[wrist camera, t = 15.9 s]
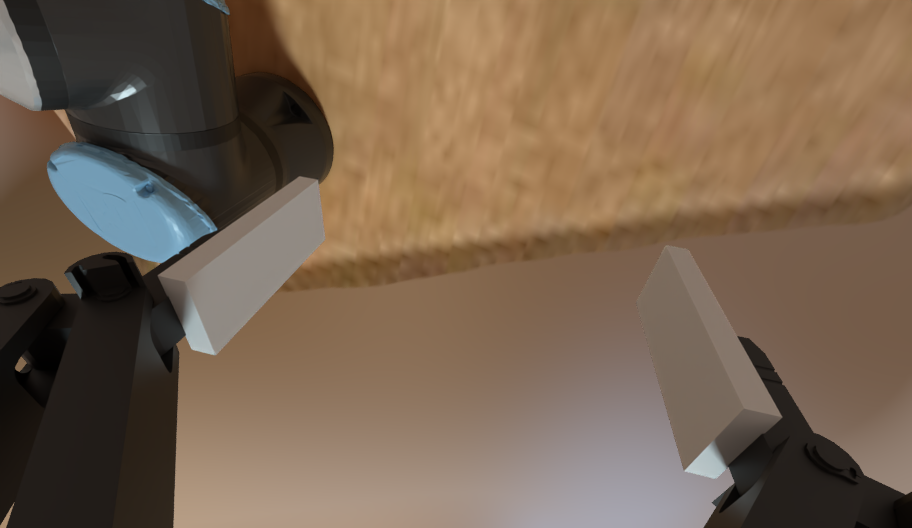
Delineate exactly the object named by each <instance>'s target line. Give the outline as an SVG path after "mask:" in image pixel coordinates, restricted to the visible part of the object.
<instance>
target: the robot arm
mask: <svg viewBox="0 0 912 528" xmlns="http://www.w3.org/2000/svg"><path fill="white" fill-rule="evenodd" d="M228 15H230V11H229V9H228V7H227V5H226V4H225V0H0V94H1V95H3V96H5V97H6V98H8V99H10V100H12V101H14V102H16V103H18V104H20V105H22V106H24V107H26V108H28V109H30V110H36V111H41V110H42V111H43V110H60V109H65V111H66V114H67V116H68V119H69V121H70V124H71V127H72V129H73V132H74V134H75V137H76V142H69V143H64V144H63V145H60V147H59V149H58V150H56V151H54V152H53V153H52V154H51V157H50V160H49V161H48V163H47V171H48V175H49V178H50V181H51V184H52V185H53V187H54V189H55V191H56V192H57V194H58V196H59V197H60V198H61V200H62V201H63V202H64V203H65V205H66V206H67V207H68V208H69V209H70V211H72V212H73V214H75V216H76V217H78V218H79V220H81V221H82V222H83V223H84V224H85V225H86V226H87V227H89V228H90V229H91V230H93V231H94V232H95V233H97V234H98V235H99V236H101V237H102V238H103V239H105V240H106V241H108V242H110V243H111V244H112V245H114V246H116V247H118V248H120V249H121V250H123V251H125V252H127V253H130V254H132V255H134V256H137V257H140V258H143V259H146V260H149V261H153V262H159V263H162V264H160V265H159V266H157V267H156V268H154V269H153V270H151V271H150V272H148V273H147V274H145V275H144V276H142V275H141V273H140V271H139V269H138V267H137V265H136V263H135V261H134V259H133V257H132V256H130V255H129V254H127V253H121V252H108V253H101V254H97V255H92V256H89V257H87V258H84V259H82V260H79V261H77V262H76V263H74V264H73V265H71V266H70V267H69V268H68V269H67V270H66V271H65V273H64V274H65V276H66V277H67V279H68V280H69V282H70V283H71V285H72V286H73V288H74V289H75V291H76V292H77V294H60V292H59V291H58V289H57V288H56V286H55V285H54V284H53V282H52V281H50V280H47V279H37V278H33V279H26V280H19V281H15V282H13V283H12V282H11V283H8V284H6V285H4V286H2V287H0V525H1V523H2V522H3V520H4V518H5V517H6V515H7V513H8V512H9V510H10V508H11V506H12V505H13V503H14V506H13V509H12V512H11V515H10V518H9V521H8V524H7V527H6V528H173V520H174V519H173V518H174V489H175V460H176V432H177V431H176V430H177V402H178V401H177V400H178V373H179V351H178V348H177V346H176V343H178V342H179V341H180V340H181V339H182V338H183V337H184V336H186V338H187V340H188V342H189V344H190V346H191V349H192V350H196V351H200V352H204V353H209V354H212V355H216V354H217V353H218V352H219V351H220V350H221V349H222V348H223V347H224V346H225V345H226V344H227V343H228V342H229V341H230V340H231V338H232V337H233V336H234V335H235V334H236V333H237V332H238V331H239V330H240V329H241V328H242V327H243V326H244V325H245V324H246V323H247V322H248V321H249V319H250V318H251V317H252V316H253V315H254V314H255V313H256V312H257V311H258V310H259V309H260V308H261V307H262V306H263V305H264V304H265V303H266V302H267V300H268V299H269V298H270V297H271V296H272V295H273V294H274V293H275V292H276V291H277V290H278V289H279V288H280V287H281V286H282V285H283V284H284V282H285V281H286V280H287V279H288V278H289V277H290V276H291V275H292V274H293V273H294V272H295V271H296V270H297V269H298V268H299V267H300V266H301V264H302V263H303V262H304V261H305V260H306V259H307V258H308V257H309V256H310V255H311V254H312V253H313V252H314V251H315V250H316V249H317V248H318V246H319V245H320V244H321V243H322V242H323V241H324V240H325V233H324V225H323V217H322V209H321V200H320V192H319V184H320V183H321V182H323V180H324V179H325V178H326V177H327V175H328V173H329V171H330V169H331V166H332V161H333V142H332V137H331V133H330V130H329V128H328V125H327V123H326V121H325V119H324V117H323V115H322V113H321V112H320V110H319V109H318V107H317V106H316V104H315V103H314V102H313V101H312V100H311V98H310V97H309V96H308V95H307V94H306V93H305V92H303V91H302V90H301V89H300V88H299V87H297V86H296V85H295V84H293V83H291V82H290V81H288V80H286V79H284V78H282V77H279V76H277V75H273V74H269V73H260V72H258V73H250V74H246V75H242V76H238V77H236V78H235V72H234V64H233V55H232V47H231V39H230V30H229V22H228ZM636 305H637V309H638V312H639V316H640V319H641V323H642V326H643V330H644V333H645V336H646V340H647V344H648V347H649V351H650V354H651V358H652V361H653V364H654V368H655V371H656V375H657V379H658V382H659V385H660V389H661V392H662V396H663V399H664V403H665V406H666V409H667V413H668V417H669V420H670V424H671V427H672V430H673V434H674V437H675V441H676V444H677V448H678V451H679V455H680V458H681V462H682V466H683V469H684V471H686V472H690V473H694V474H698V475H702V476H706V477H710V478H714V479H716V478H717V477H718V476H719V475H720V474H721V473H722V472H724V470H726V469H727V468H728V467H729V469H730V471H731V474H732V477H733V479H734V482H735V483H734V484H733V485H732V486H731V487H729V488H728V489H727V490H726V491H725V492H724V493H722V494H721V495H720V496H719V497H718V498H717V499H716V500H714V501H713V502H712V503H713V504H714V505H715V506H717V507H716V509H715V510H714V512H713V514H712V515H711V517H710V518H709V520H708V522H707V523H706V525H705V526H704V528H912V492H910V493H909V494H907V495H905V494H903V493H901V492H899V491H896V490H894V489H892V488H890V487H888V486H886V485H883V484H882V483H879V482H877V481H875V480H873V479H871V478H869V477H867V476H865V475H864V474H863V472H862V470H861V469H860V467H859V465H858V464H857V463H856V462H855V461H854V460H853V459H852V457H851V456H850V455H849V454H848V453H847V452H845V451H844V450H843V449H842V448H840V447H839V446H838V445H836V444H835V443H834V442H832V441H830V440H828V439H827V438H825V437H823V436H821V435H819V434H816V433H813V431H812V430H811V428H810V426H809V425H808V423H807V421H806V420H805V418H804V416H803V415H802V413H801V412H800V410H799V408H798V407H797V405H796V403H795V402H794V400H793V399H792V397H791V395H790V394H789V392H788V390H787V389H786V387H785V386H784V385H782V380H781V379H780V377H779V376H778V374H777V372H774V370H775V369H774V367H773V366H772V364H771V363H770V361H769V359H768V358H767V356H766V355H765V353H764V352H763V351H761V349H760V348H758V347H757V346H756V345H755V344H754V343H753V342H752V341H751V340H750V339H749V338H744V337H739V336H737V335H736V334H735V332H734V330H733V328H732V327H731V325H730V323H729V321H728V319H727V318H726V316H725V314H724V312H723V311H722V309H721V307H720V305H719V303H718V302H717V300H716V298H715V296H714V294H713V293H712V291H711V289H710V287H709V286H708V284H707V282H706V280H705V278H704V277H703V275H702V273H701V271H700V269H699V268H698V266H697V264H696V262H695V260H694V259H693V257H692V255H691V253H690V252H689V250H688V249H684V248H679V247H674V246H668V245H666V246H665V247H664V249H663V251H662V253H661V255H660V257H659V259H658V261H657V263H656V265H655V267H654V269H653V271H652V273H651V274H650V276H649V278H648V281H647V282H646V284H645V286H644V288H643V290H642V292H641V294H640V296H639V298H638V300H637V302H636ZM21 356H22V358H23V359H24V360H25V361H26V362H27V364H26V365H25V366H24V368H23V369H22V370H21V371H20V372H18V371H16V370H15V366H16V364H17V362H18V360H19V359H20V357H21Z"/></svg>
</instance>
